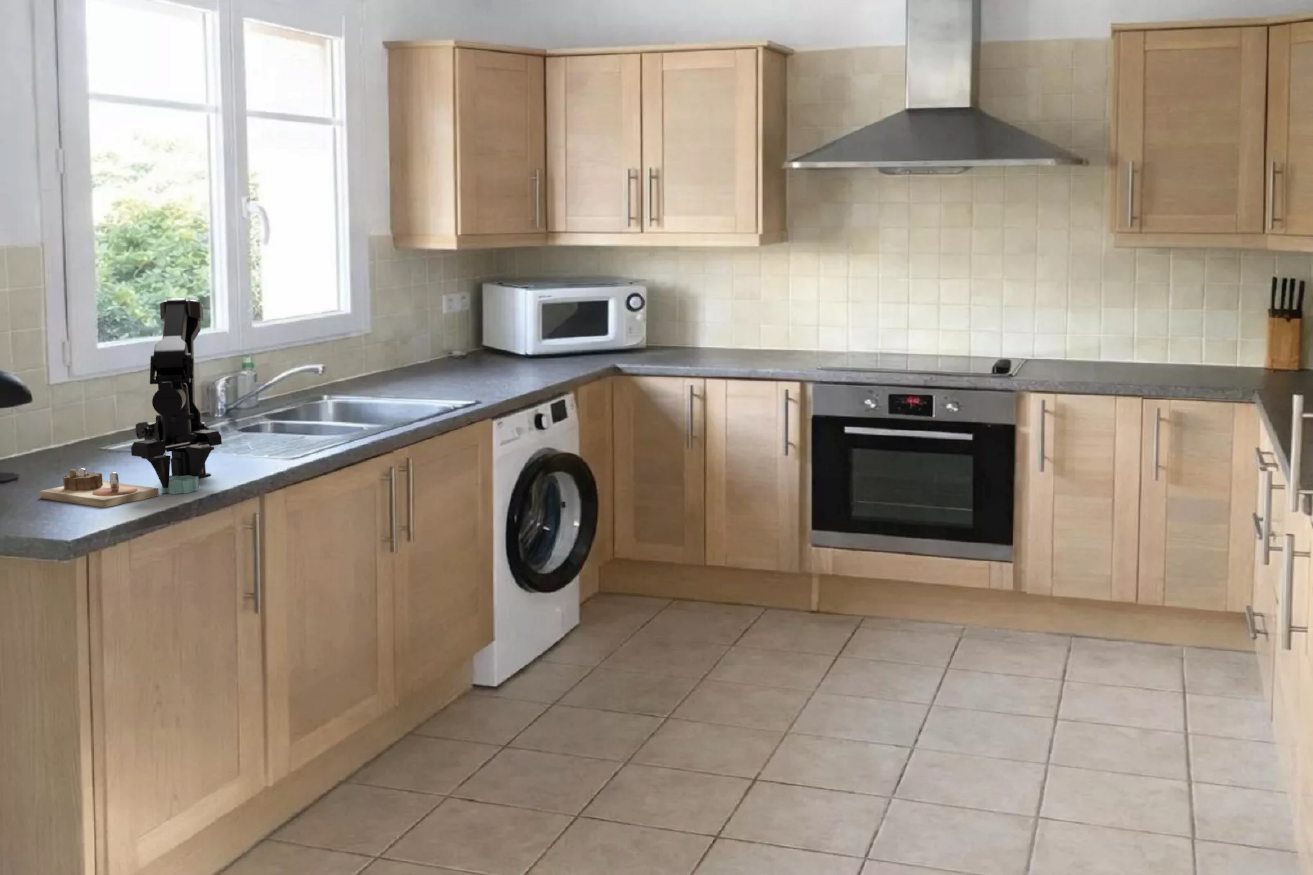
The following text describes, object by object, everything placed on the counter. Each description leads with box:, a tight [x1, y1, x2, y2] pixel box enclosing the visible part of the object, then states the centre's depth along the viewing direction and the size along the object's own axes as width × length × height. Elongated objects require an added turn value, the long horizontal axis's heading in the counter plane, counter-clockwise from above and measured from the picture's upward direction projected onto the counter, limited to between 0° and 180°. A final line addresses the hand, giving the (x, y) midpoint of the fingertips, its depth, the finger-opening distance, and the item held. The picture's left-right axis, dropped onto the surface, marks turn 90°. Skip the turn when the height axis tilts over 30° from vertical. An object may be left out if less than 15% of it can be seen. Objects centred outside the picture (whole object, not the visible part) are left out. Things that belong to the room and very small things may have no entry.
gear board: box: [39, 480, 160, 508], centre depth 290 cm, size 13×20×2 cm, turn 58°
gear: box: [62, 468, 103, 491], centre depth 293 cm, size 7×7×4 cm
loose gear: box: [161, 475, 200, 495], centre depth 295 cm, size 7×7×2 cm
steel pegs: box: [77, 467, 120, 491], centre depth 290 cm, size 2×12×4 cm, turn 58°
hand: (180, 484), depth 295 cm, fingers closed on loose gear, 7 cm apart
